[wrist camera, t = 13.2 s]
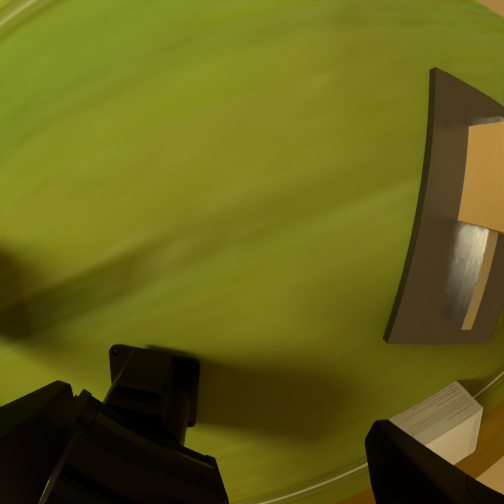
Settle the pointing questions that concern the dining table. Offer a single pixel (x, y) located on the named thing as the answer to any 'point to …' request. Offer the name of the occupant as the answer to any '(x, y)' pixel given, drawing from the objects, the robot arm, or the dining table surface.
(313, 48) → the dining table surface
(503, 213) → the block
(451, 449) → the small box
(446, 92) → the plate
